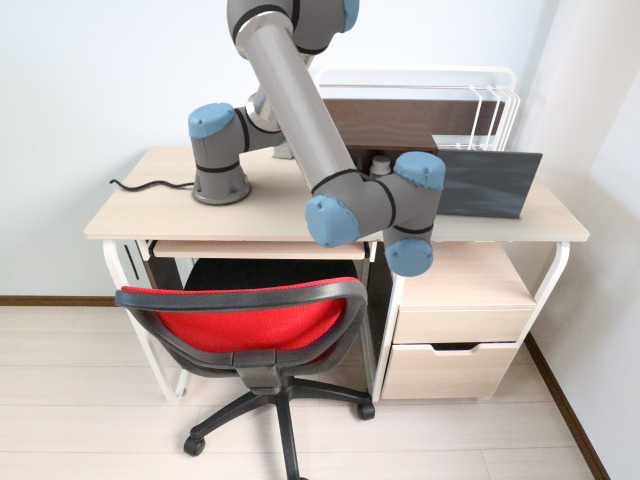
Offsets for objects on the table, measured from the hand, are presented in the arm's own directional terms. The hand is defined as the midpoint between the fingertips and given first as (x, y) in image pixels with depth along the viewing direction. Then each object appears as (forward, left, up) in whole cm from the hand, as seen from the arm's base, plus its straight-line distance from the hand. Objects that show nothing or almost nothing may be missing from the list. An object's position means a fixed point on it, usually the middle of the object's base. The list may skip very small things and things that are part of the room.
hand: (387, 163), depth 91 cm
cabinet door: (+24, +5, -15) cm, 29 cm away
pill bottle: (0, +12, -14) cm, 18 cm away
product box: (-29, +37, -15) cm, 49 cm away
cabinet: (0, +12, -15) cm, 19 cm away
